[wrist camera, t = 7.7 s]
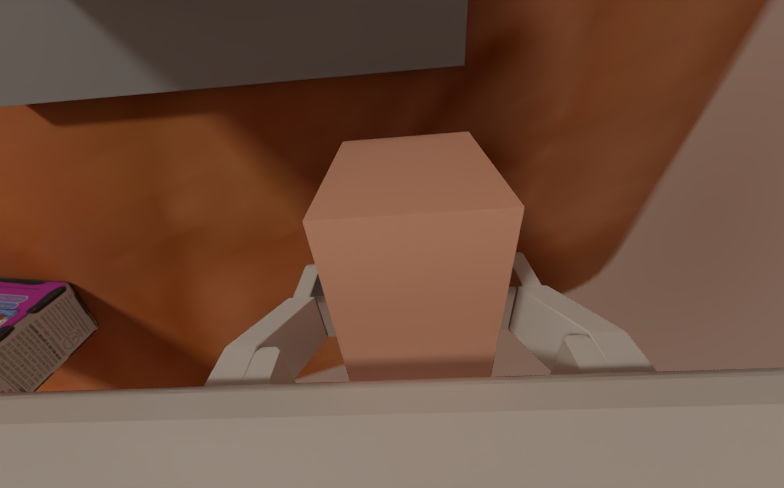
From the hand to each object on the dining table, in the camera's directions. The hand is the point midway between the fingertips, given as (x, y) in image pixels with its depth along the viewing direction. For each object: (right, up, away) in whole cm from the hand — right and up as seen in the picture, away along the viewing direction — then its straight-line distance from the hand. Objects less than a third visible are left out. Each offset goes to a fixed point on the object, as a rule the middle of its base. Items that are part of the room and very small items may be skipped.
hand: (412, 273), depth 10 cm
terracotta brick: (0, +1, +2) cm, 2 cm away
